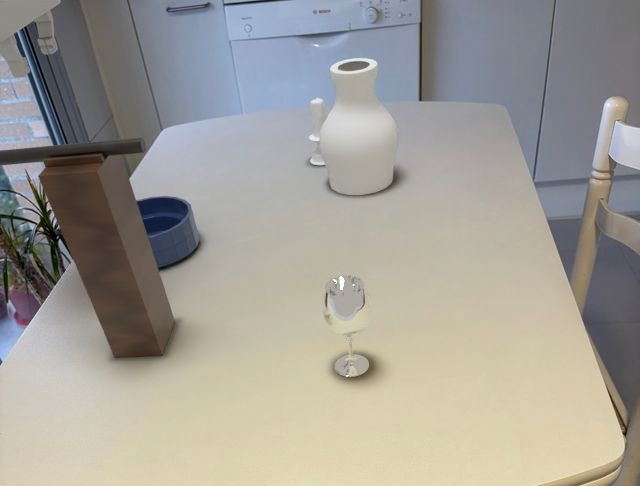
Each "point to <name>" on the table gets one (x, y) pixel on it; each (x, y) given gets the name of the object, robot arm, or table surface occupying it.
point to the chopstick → (72, 150)
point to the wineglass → (347, 318)
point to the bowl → (169, 228)
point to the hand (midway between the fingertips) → (37, 63)
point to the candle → (317, 128)
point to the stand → (110, 250)
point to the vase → (358, 132)
